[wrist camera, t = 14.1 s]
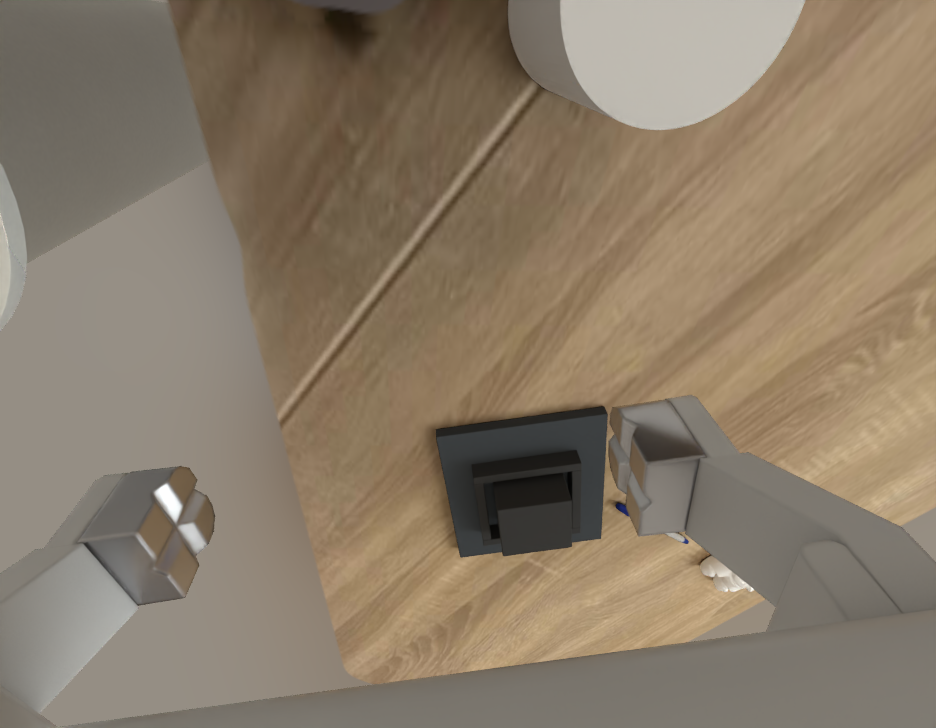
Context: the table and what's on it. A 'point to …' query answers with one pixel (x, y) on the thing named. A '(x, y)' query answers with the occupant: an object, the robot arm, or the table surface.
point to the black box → (533, 514)
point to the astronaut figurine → (722, 576)
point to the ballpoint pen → (673, 535)
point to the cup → (650, 53)
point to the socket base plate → (523, 470)
